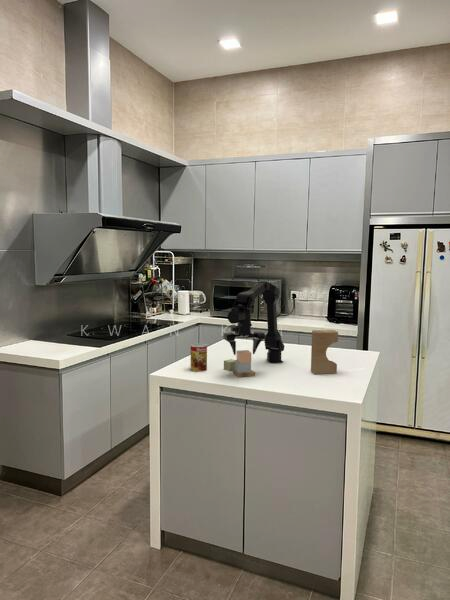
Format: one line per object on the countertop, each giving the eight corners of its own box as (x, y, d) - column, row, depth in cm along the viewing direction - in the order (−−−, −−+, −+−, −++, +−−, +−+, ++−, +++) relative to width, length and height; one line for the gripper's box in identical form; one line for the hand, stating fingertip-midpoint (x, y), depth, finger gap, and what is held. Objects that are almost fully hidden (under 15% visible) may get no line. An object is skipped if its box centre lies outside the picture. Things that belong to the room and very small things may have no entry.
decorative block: (332, 370, 214) (334, 329, 212) (337, 373, 208) (338, 331, 206) (310, 371, 212) (311, 330, 210) (314, 374, 207) (315, 332, 205)
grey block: (247, 368, 208) (247, 359, 208) (250, 372, 202) (251, 362, 202) (234, 369, 207) (235, 360, 206) (238, 372, 201) (238, 363, 200)
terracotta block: (247, 359, 208) (248, 350, 207) (251, 362, 202) (251, 352, 202) (236, 360, 206) (236, 350, 206) (239, 363, 201) (239, 353, 200)
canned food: (200, 372, 208) (200, 347, 206) (187, 370, 212) (187, 345, 210) (210, 369, 214) (210, 344, 213) (196, 366, 218) (196, 342, 217)
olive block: (231, 368, 217) (231, 359, 217) (238, 370, 213) (238, 361, 213) (223, 369, 214) (223, 360, 213) (230, 371, 210) (230, 362, 210)
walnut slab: (248, 373, 210) (249, 368, 210) (254, 377, 202) (255, 372, 202) (232, 374, 208) (232, 369, 207) (238, 379, 200) (238, 373, 200)
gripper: (257, 317, 213) (256, 349, 214) (220, 319, 207) (219, 351, 209) (266, 321, 202) (265, 354, 204) (227, 322, 197) (226, 357, 198)
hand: (244, 354), depth 204 cm, fingers open, 9 cm apart
